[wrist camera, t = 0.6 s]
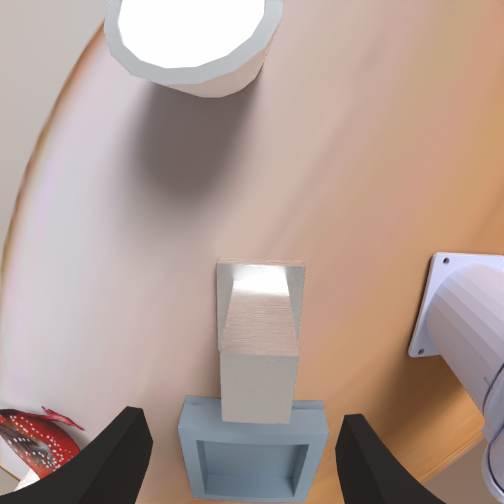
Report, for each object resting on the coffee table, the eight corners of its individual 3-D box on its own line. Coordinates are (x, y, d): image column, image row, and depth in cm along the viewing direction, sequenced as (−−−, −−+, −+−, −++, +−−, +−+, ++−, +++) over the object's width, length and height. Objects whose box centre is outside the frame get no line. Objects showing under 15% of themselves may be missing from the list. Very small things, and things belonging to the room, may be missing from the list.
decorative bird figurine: (121, 450, 26) (92, 526, 16) (-12, 375, 24) (-59, 427, 15) (123, 436, 25) (91, 518, 15) (-16, 357, 23) (-67, 410, 14)
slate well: (322, 400, 22) (329, 433, 19) (302, 474, 26) (304, 502, 22) (186, 395, 22) (177, 427, 19) (198, 470, 26) (193, 497, 23)
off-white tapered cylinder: (226, 132, 17) (204, 121, 10) (133, 72, 16) (71, 41, 9) (301, 41, 15) (322, -14, 8) (205, -14, 14) (179, -78, 7)
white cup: (23, 457, 30) (-3, 502, 20) (67, 482, 30) (45, 531, 21) (31, 477, 32) (10, 517, 23) (71, 499, 33) (53, 542, 23)
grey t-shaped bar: (303, 260, 19) (329, 334, 11) (294, 345, 21) (307, 436, 13) (218, 257, 19) (192, 328, 11) (219, 342, 21) (201, 432, 13)
